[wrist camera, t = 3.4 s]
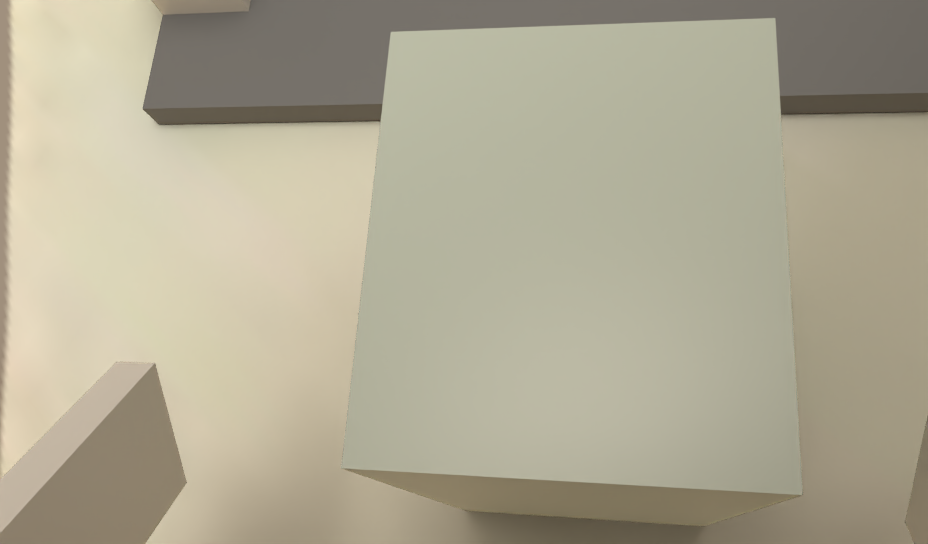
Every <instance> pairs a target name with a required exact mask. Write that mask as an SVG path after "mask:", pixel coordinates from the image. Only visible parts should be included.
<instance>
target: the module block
mask: <svg viewBox="0 0 928 544" xmlns="http://www.w3.org/2000/svg"><path fill="white" fill-rule="evenodd" d="M341 468H342V469H345V470H348V471H351V472H354V473H357V474H359V475H362V476H365V477H368V478H371V479H374V480H377V481H380V482H383V483H386V484H389V485H392V486H395V487H398V488H401V489H403V490H406V491H409V492H412V493H415V494H418V495H421V496H424V497H427V498H430V499H433V500H436V501H439V502H442V503H445V504H448V505H450V506H453V507H456V508H459V509H462V510H465V511H477V512H492V513H507V514H522V515H538V516H553V517H568V518H583V519H599V520H614V521H629V522H644V523H660V524H675V525H690V526H707V525H710V524H713V523H716V522H719V521H723V520H726V519H729V518H732V517H735V516H738V515H742V514H745V513H748V512H751V511H754V510H757V509H760V508H764V507H767V506H770V505H773V504H776V503H779V502H783V501H786V500H789V499H792V498H795V497H798V496H802V495H803V489H802V472H801V454H800V437H799V420H798V402H797V385H796V368H795V350H794V333H793V316H792V298H791V281H790V264H789V246H788V229H787V212H786V194H785V177H784V160H783V142H782V125H781V108H780V90H779V73H778V56H777V38H776V21H775V18H761V19H733V20H705V21H678V22H650V23H622V24H594V25H566V26H539V27H511V28H483V29H455V30H428V31H400V32H391V35H390V43H389V52H388V61H387V70H386V78H385V87H384V96H383V105H382V114H381V122H380V131H379V140H378V149H377V158H376V166H375V175H374V184H373V193H372V202H371V210H370V219H369V228H368V237H367V245H366V254H365V263H364V272H363V281H362V289H361V298H360V307H359V316H358V325H357V333H356V342H355V351H354V360H353V368H352V377H351V386H350V395H349V404H348V412H347V421H346V430H345V439H344V448H343V456H342V465H341Z"/></svg>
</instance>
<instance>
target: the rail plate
mask: <svg viewBox="0 0 928 544" xmlns="http://www.w3.org/2000/svg"><path fill="white" fill-rule="evenodd" d="M151 1H152V2H153V3H154V4H155V5H156V7H157V8H158V9H159V10H160V12H161V13H162V14H163V17H162V22H161V26H160V31H159V36H158V40H157V45H156V49H155V54H154V59H153V63H152V68H151V72H150V77H149V82H148V86H147V91H146V95H145V100H144V105H143V110H144V111H145V112H146V113H147V114H149V115H150V116H151V117H152V118H153V119H154V120H155V121H156V122H157V123H158V124H203V123H263V122H323V121H381V114H382V105H383V96H384V87H385V78H386V70H387V61H388V52H389V43H390V35H391V32H400V31H428V30H455V29H483V28H511V27H539V26H566V25H594V24H622V23H650V22H678V21H705V20H733V19H761V18H775V21H776V38H777V56H778V73H779V90H780V108H781V114H801V113H861V112H921V111H928V0H151Z"/></svg>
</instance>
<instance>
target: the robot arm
mask: <svg viewBox="0 0 928 544" xmlns="http://www.w3.org/2000/svg"><path fill="white" fill-rule="evenodd" d="M186 483H187V482H186V478H185V474H184V470H183V467H182V463H181V459H180V455H179V452H178V448H177V444H176V440H175V437H174V433H173V429H172V425H171V422H170V418H169V414H168V410H167V406H166V403H165V399H164V395H163V391H162V388H161V384H160V380H159V376H158V373H157V369H156V365H155V363H138V362H116V363H115V364H114V365H113V366H112V367H111V368H110V369H109V370H108V371H107V372H106V373H105V374H104V375H103V376H102V377H101V378H100V379H99V380H98V381H97V382H96V383H95V384H94V385H93V386H92V387H91V388H90V389H89V390H88V391H87V392H86V393H85V394H84V395H83V396H82V397H81V398H80V399H79V400H78V401H77V402H76V403H75V404H74V405H73V406H72V407H71V408H70V409H69V410H68V411H67V412H66V413H65V414H64V415H63V416H62V417H61V418H60V419H59V420H58V421H57V422H56V423H55V424H54V426H53V427H52V428H51V429H50V430H49V431H48V432H47V433H46V434H45V435H44V436H43V437H42V438H41V439H40V440H39V441H38V442H37V443H36V444H35V445H34V446H33V447H32V448H31V449H30V450H29V451H28V452H27V453H26V454H25V455H24V456H23V457H22V458H21V459H20V460H19V461H18V462H17V463H16V464H15V465H14V466H13V467H12V468H11V469H10V470H9V471H8V472H7V473H6V474H5V475H4V476H3V477H2V478H1V479H0V544H145V543H146V542H147V540H148V539H149V537H150V536H151V534H152V533H153V531H154V530H155V528H156V527H157V525H158V524H159V523H160V521H161V520H162V518H163V517H164V515H165V514H166V512H167V511H168V509H169V508H170V506H171V505H172V503H173V502H174V501H175V499H176V498H177V496H178V495H179V493H180V492H181V490H182V489H183V487H184V486H185V484H186ZM905 524H906V526H907V528H908V530H909V533H910V535H911V537H912V539H913V541H914V544H928V417H927V421H926V426H925V431H924V435H923V440H922V445H921V449H920V454H919V459H918V463H917V468H916V473H915V477H914V482H913V487H912V491H911V496H910V501H909V506H908V510H907V515H906V520H905Z"/></svg>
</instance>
